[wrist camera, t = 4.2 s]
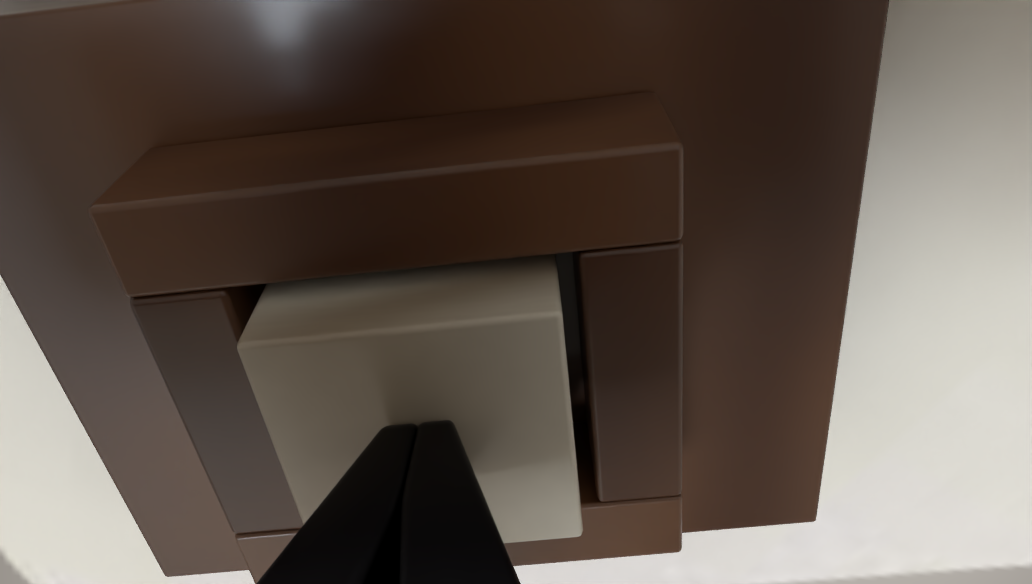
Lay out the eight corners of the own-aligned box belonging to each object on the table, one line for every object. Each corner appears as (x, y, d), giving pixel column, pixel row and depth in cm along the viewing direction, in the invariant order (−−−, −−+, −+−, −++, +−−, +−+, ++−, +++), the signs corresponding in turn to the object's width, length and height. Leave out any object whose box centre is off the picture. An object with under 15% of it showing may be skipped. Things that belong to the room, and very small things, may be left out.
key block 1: (832, -113, 10) (992, -74, 7) (779, 437, 16) (855, 612, 12) (-27, -7, 11) (-265, 77, 8) (203, 489, 16) (124, 670, 13)
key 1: (553, 235, 10) (562, 313, 8) (573, 445, 12) (583, 538, 10) (272, 264, 10) (232, 346, 8) (338, 466, 12) (315, 562, 10)
